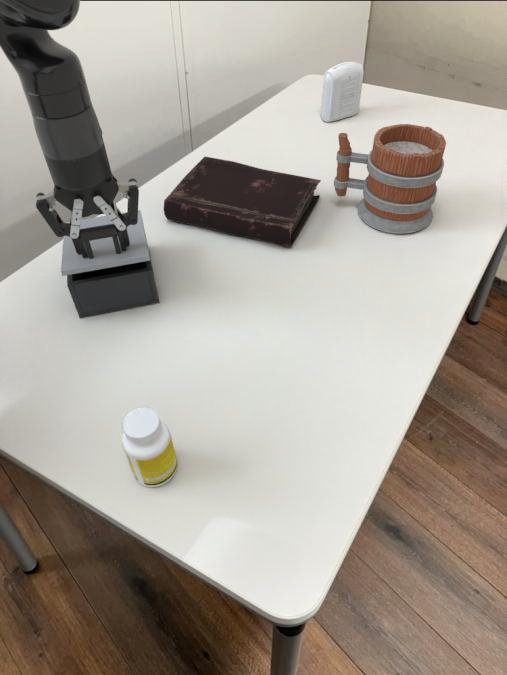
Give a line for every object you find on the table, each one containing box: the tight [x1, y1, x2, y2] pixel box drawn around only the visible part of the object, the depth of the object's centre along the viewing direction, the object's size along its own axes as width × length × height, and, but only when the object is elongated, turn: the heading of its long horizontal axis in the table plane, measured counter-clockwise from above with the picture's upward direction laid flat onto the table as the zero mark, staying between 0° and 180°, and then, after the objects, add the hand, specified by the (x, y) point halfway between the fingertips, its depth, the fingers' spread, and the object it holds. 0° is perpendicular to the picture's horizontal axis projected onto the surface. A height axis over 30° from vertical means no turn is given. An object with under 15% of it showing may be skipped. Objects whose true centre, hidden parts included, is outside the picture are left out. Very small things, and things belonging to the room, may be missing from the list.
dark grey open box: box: [66, 219, 160, 319], centre depth 84 cm, size 16×13×7 cm
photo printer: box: [320, 61, 365, 123], centre depth 123 cm, size 10×4×12 cm, turn 122°
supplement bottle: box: [121, 406, 178, 488], centre depth 58 cm, size 5×5×10 cm
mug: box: [333, 123, 447, 235], centre depth 93 cm, size 14×19×15 cm
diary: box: [163, 156, 322, 249], centre depth 98 cm, size 19×25×5 cm
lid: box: [60, 209, 151, 277], centre depth 78 cm, size 16×13×5 cm
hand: (104, 250), depth 76 cm, fingers closed on lid, 5 cm apart
